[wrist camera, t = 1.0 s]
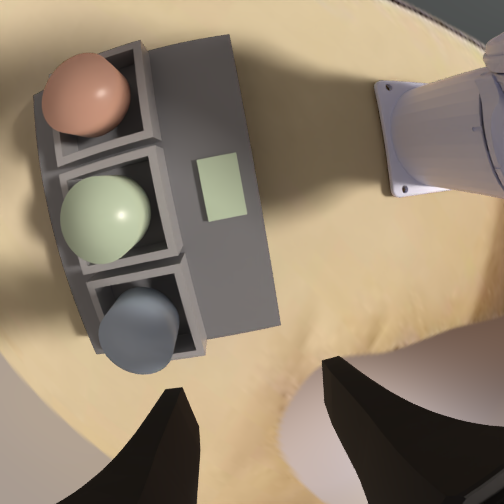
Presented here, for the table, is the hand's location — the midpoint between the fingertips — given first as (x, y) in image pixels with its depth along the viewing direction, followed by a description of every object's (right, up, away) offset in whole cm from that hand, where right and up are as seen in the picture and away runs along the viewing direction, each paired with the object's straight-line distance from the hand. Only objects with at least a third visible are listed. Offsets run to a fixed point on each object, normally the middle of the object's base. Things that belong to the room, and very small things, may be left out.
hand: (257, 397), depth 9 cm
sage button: (-7, +7, +4) cm, 10 cm away
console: (-6, +8, +8) cm, 13 cm away
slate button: (-6, +1, +5) cm, 8 cm away
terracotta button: (-8, +12, +2) cm, 14 cm away
